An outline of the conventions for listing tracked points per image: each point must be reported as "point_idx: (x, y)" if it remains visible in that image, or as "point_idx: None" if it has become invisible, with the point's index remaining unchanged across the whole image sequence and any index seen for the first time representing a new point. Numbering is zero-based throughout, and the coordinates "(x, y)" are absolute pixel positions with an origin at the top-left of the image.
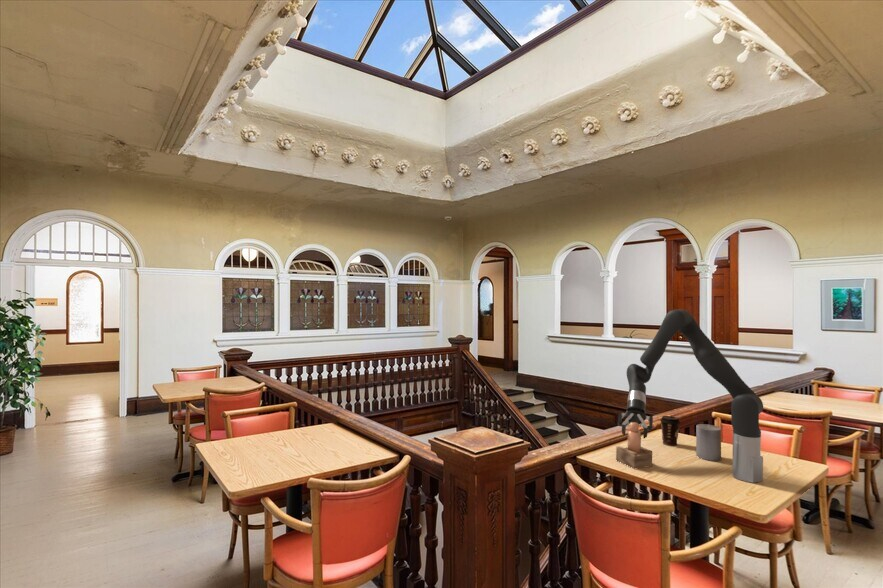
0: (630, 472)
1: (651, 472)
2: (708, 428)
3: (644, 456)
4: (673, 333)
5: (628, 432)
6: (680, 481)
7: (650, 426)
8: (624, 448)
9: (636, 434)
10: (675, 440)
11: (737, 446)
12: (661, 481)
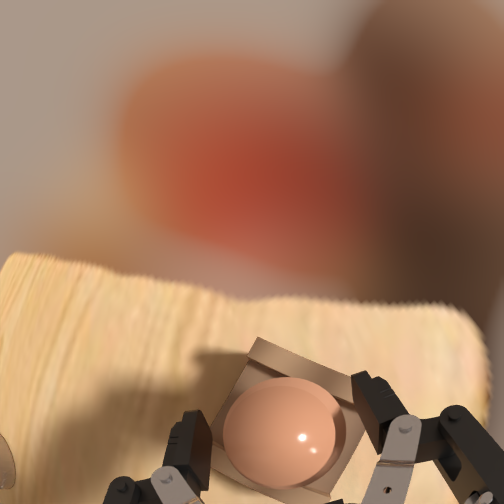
0: (266, 302)
1: (197, 362)
2: None
3: (225, 404)
4: None
5: (325, 391)
6: (106, 335)
7: (122, 481)
8: (336, 390)
9: (250, 389)
10: None
11: None
12: (155, 293)
